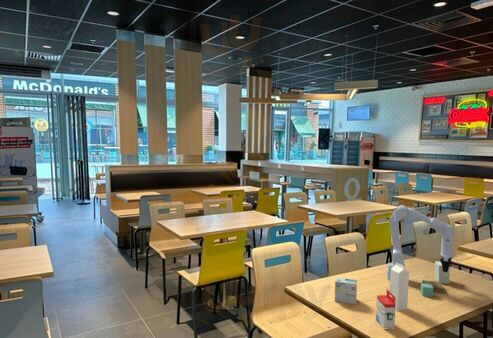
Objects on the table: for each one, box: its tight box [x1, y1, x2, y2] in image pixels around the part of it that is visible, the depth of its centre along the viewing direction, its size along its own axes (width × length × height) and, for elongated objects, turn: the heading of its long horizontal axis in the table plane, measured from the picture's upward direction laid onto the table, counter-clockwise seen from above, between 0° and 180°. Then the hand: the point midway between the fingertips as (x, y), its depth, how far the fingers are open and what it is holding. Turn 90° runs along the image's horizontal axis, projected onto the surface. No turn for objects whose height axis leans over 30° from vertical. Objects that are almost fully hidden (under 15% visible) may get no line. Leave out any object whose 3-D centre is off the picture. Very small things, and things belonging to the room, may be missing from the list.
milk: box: [389, 262, 410, 311], centre depth 166 cm, size 6×6×22 cm
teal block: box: [420, 282, 434, 298], centre depth 181 cm, size 5×5×5 cm
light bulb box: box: [334, 276, 358, 305], centre depth 173 cm, size 11×7×11 cm, turn 71°
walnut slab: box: [421, 279, 445, 294], centre depth 188 cm, size 9×9×3 cm
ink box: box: [375, 289, 396, 330], centre depth 150 cm, size 8×5×15 cm, turn 3°
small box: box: [434, 260, 450, 285], centre depth 198 cm, size 8×6×10 cm
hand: (445, 269), depth 190 cm, fingers open, 7 cm apart
